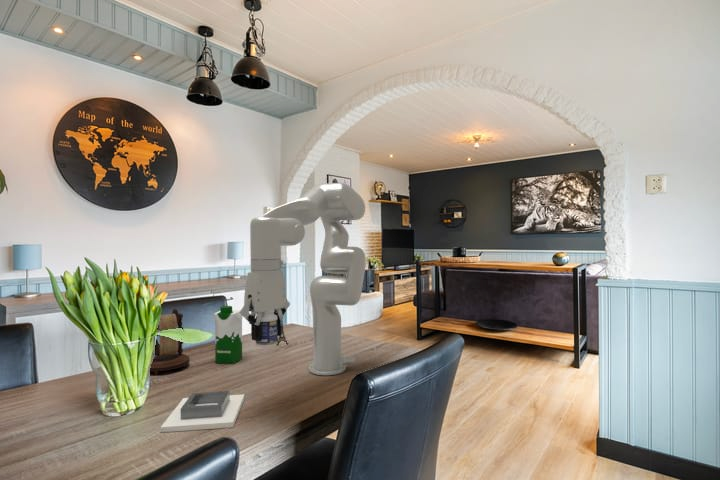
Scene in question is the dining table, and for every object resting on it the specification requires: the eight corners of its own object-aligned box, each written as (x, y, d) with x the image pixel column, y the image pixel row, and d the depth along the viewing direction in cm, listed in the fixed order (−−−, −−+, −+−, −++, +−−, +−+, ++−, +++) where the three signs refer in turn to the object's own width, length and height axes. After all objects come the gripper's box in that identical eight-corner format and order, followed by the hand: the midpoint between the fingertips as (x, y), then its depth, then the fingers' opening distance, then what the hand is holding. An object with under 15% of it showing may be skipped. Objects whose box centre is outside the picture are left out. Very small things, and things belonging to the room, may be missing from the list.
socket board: (244, 398, 104) (244, 394, 104) (233, 427, 88) (233, 422, 88) (183, 402, 102) (183, 398, 102) (160, 432, 86) (160, 427, 86)
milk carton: (211, 364, 133) (211, 307, 133) (223, 356, 142) (223, 303, 142) (235, 364, 132) (235, 308, 132) (245, 356, 141) (245, 303, 141)
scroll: (150, 379, 119) (150, 316, 119) (135, 368, 129) (134, 310, 129) (196, 367, 130) (196, 309, 130) (179, 358, 140) (178, 304, 140)
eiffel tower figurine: (304, 344, 159) (304, 313, 159) (290, 351, 150) (289, 317, 150) (276, 340, 166) (276, 310, 166) (261, 346, 157) (260, 314, 157)
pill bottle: (272, 348, 92) (271, 308, 92) (251, 347, 93) (251, 308, 93) (281, 342, 97) (280, 304, 97) (261, 341, 98) (261, 304, 98)
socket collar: (229, 400, 100) (229, 390, 100) (221, 416, 91) (221, 406, 91) (192, 402, 99) (192, 393, 99) (180, 419, 90) (180, 408, 90)
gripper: (281, 263, 104) (282, 328, 104) (227, 267, 90) (228, 343, 90) (300, 264, 100) (301, 332, 100) (247, 269, 86) (247, 348, 86)
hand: (266, 336), depth 95 cm, fingers closed on pill bottle, 5 cm apart
